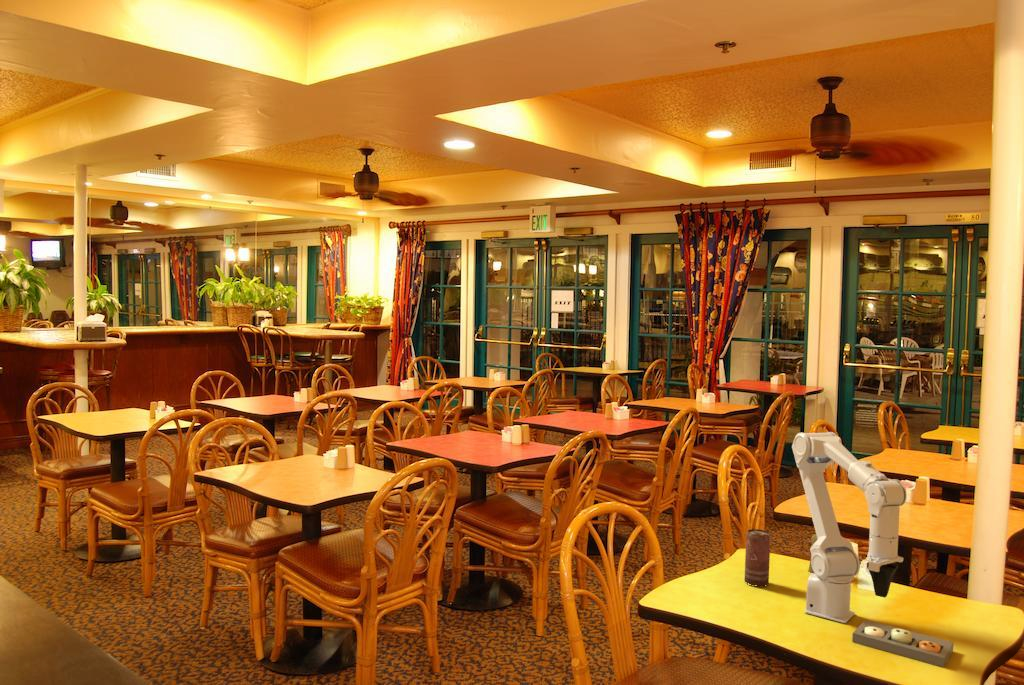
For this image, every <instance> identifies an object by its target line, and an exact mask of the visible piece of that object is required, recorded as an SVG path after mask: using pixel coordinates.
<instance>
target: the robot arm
mask: <svg viewBox="0 0 1024 685" xmlns="http://www.w3.org/2000/svg"><path fill="white" fill-rule="evenodd" d="M791 449H792V453H793V455H794V460H795V464H796V467H797V469H798V470H799V471H798V472H799V475H800V478H801V481H802V482H801V483H802V486H803V490H804V493H805V498H806V500H807V505H808V508H809V512H810V516H811V518H812V519H811V520H812V523H813V527H814V530H815V534H816V535H817V538H818V540H817V541H816V542H815V543H814V544H813V545H812V544H811V547H810V549H809V550H810V559H811V565H812V569H813V571H814V573H812V574H809V576H808V578H807V585H806V602H805V610H804V613H805V614H808V615H813V616H815V617H819V618H823V619H828V620H831V621H834V622H838V623H842V624H846V623H848V621H849V620H850V619H852V618H853V616H855V614H856V611H853V610H851V607H850V606H851V594H852V593H851V591H852V590H851V589H852V588H851V587H852V582H853V581H854V580H855V576H857V575H858V574H859V573H860V569H861V562H860V558H859V556H858V554H857V553H856V551H855V550H854V547H853V545H852V542H850V541H849V540H848V539H846V538H845V537H843V536H842V535H841V532H840V528H839V525H838V521H837V518H836V515H835V511H834V508H833V505H832V504H833V503H832V501H831V497H830V493H829V490H828V486H827V483H826V482H827V481H826V479H825V476H824V471H825V470H826V469H827V468H829V467H830V466H831V465H832V463H833V462H834V463H835V464H836V465H838V466H839V467H841V469H843V470H845V471H846V472H847V478H848V480H849V481H850V482H851V483H853V484H854V485H855V486H856V487H858V489H860V491H862V492H863V493H864V497H865V500H866V502H867V510H868V513H869V514H870V515H869V516H870V518H869V536H868V537H869V538H868V552H867V559H868V562H867V563H866V569H867V570H868V572H869V575H870V577H871V581H872V585H873V590H874V595H875V596H877V597H880V598H887V597H888V594H889V591H890V587H891V584H892V580H893V577H894V575H895V573H896V571H897V570H898V568H899V564H898V563H903V561H904V557H902V556H899V555H898V549H899V533H900V532H899V529H900V528H899V527H900V508H901V506H903V505H904V504H905V503H906V501H907V490H906V488H905V486H904V484H903V482H901V481H900V480H899V479H897V478H896V479H895V478H894V479H893V478H892V479H891V478H888V477H887V476H886V475H885V474H884V473H882V472H880V471H879V470H878V469H876V467H875V466H873V463H871V461H870V460H858V459H857V457H855V456H854V455H853V453H851V452H850V451H849V450H848V449H847V448H846V447H845V446H844V445H843V444H842V439H841V437H839V436H838V435H837V433H835V432H832V431H827V432H798V433H796V435H795V437H794V439H793V441H792V445H791ZM827 550H829V551H827Z"/></svg>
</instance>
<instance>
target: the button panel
mask: <svg viewBox="0 0 1024 685" xmlns="http://www.w3.org/2000/svg"><path fill="white" fill-rule="evenodd" d="M869 626H871V627H877V628H880V629H882V630H884V637H883V638H880V637H877V636H873V635H869V634H866V633H864V632H865V627H869ZM892 629H901V628H899V627H895V626H892V625H888V624H884V623H880V622H877V621H872V620H868V619H864V620H863V621H862V622H861V624H859V625H858V627H857V628H855V630H854V631H853V632H852V638H851V640H852V642H851V643H855V644H859V645H862V646H865V647H866V646H867V647H870V648H872V649H877V650H879V651H884V652H888V653H891V654H894V655H897V656H902V657H905V658H909V659H912V660H916V661H918V662H919V661H920V662H923V663H926V664H927V663H928V664H931V665H934V666H937V665H938V667H941V668H945V667H946V664H947V663H948V661H949V659H950V658H951V656H952V654H953V652H954V642H955V641H951V640H950V641H949V640H946V639H943V638H938V637H934V636H930V635H928V634H927V635H926V634H922V633H919V632H916V631H910V630H907V629H906V630H907V631H909V632H911V633H912V644H911V645H906V644H903V643H899V642H895V641H892V640H891V633H892ZM920 641H930V642H934V643H936V644H938V645H940V653H936V652H932V651H929V650H925V649H921V648H919V642H920Z"/></svg>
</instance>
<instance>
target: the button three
mask: <svg viewBox="0 0 1024 685" xmlns="http://www.w3.org/2000/svg"><path fill="white" fill-rule="evenodd" d="M919 648H921V649H925V650H929V651H932V652H936V653H940V645H938V644H936V643H934V642H930V641H920V642H919Z"/></svg>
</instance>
